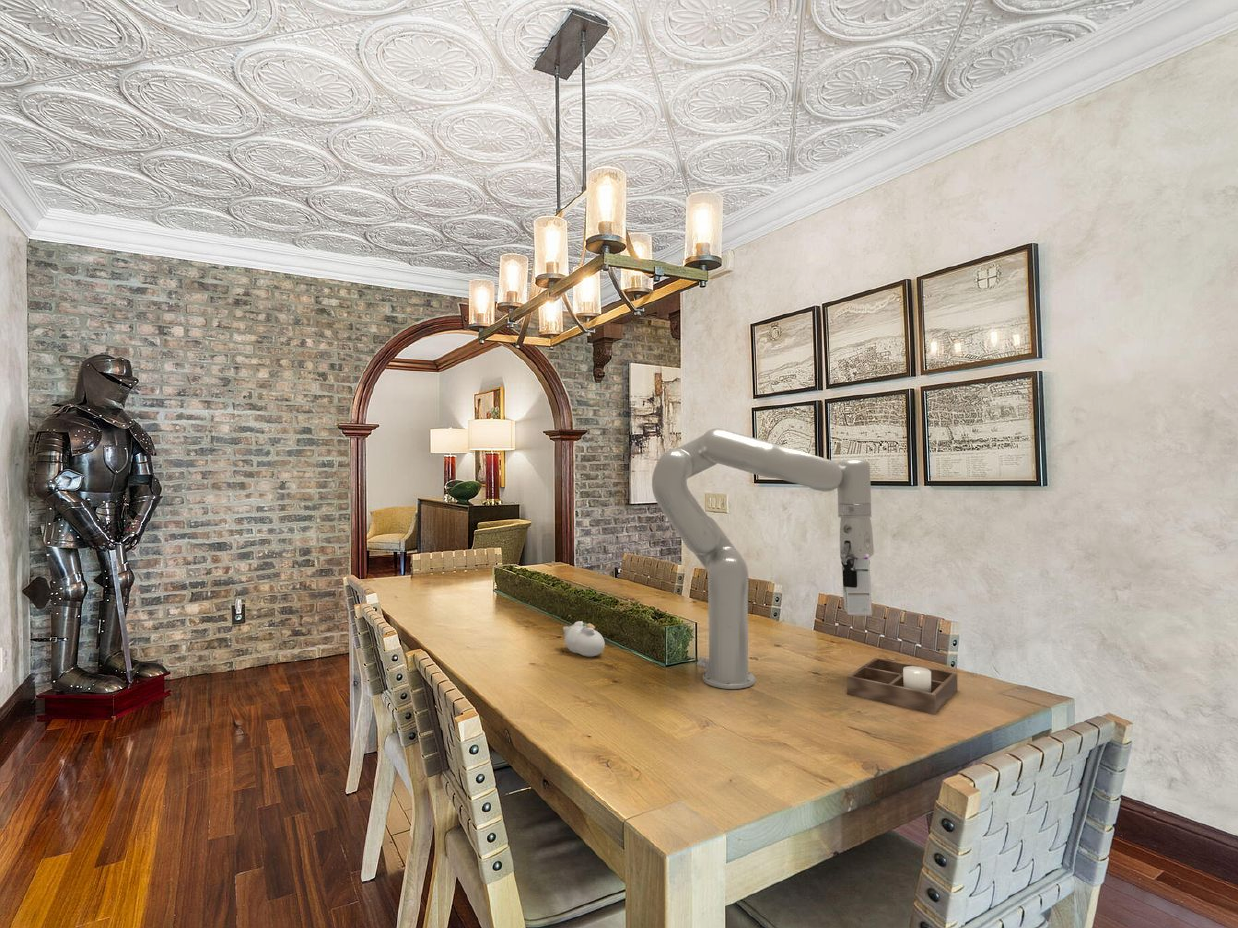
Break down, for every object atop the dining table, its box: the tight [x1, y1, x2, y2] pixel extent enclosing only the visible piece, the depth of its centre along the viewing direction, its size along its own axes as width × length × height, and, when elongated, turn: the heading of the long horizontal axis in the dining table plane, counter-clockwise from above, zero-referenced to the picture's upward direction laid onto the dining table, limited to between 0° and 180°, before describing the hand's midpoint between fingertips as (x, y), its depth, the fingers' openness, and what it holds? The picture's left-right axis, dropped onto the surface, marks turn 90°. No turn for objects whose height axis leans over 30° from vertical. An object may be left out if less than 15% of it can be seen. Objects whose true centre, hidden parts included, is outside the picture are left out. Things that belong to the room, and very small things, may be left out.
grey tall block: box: [841, 554, 873, 616], centre depth 153 cm, size 6×6×14 cm
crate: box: [846, 657, 959, 716], centre depth 145 cm, size 18×18×5 cm
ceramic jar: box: [903, 666, 931, 693], centre depth 139 cm, size 6×6×7 cm
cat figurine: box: [562, 620, 606, 658], centre depth 180 cm, size 10×8×15 cm
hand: (856, 583), depth 153 cm, fingers closed on grey tall block, 7 cm apart
